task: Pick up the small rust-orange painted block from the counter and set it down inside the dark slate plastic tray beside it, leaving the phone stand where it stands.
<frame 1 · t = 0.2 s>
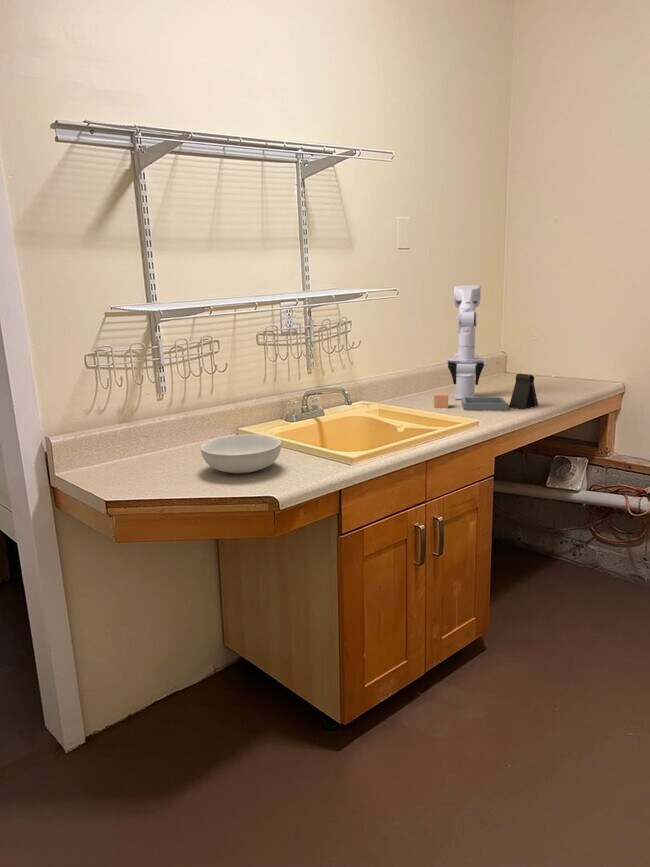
hand: (465, 384, 234), 10 cm above the counter, tool pointing down, fingers open, 7 cm apart
serving bowl: (242, 469, 173), on the counter
phone stand: (523, 407, 242), on the counter
orange block: (440, 407, 245), on the counter
slate tray: (483, 407, 243), on the counter
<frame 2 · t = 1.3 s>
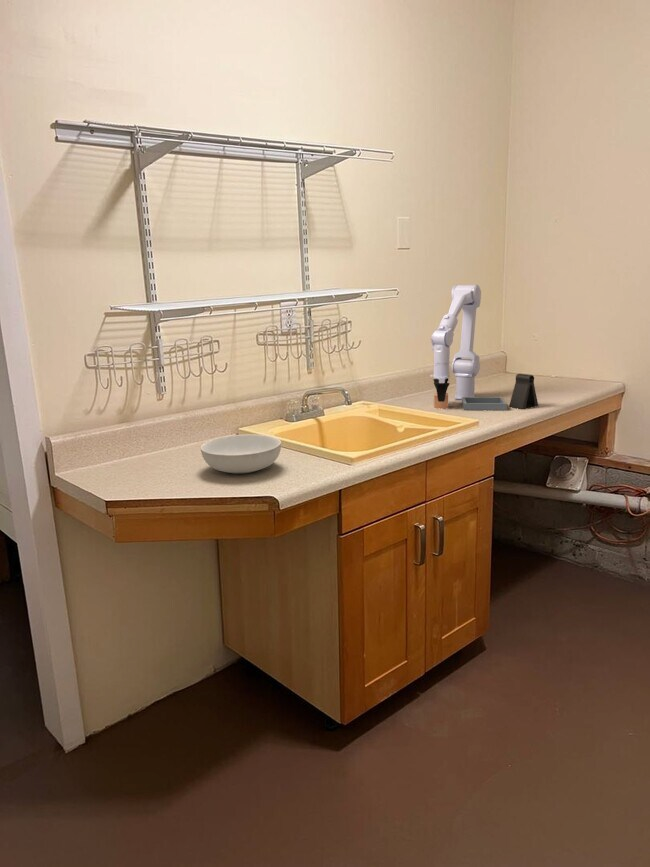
hand: (440, 399, 245), 3 cm above the counter, tool pointing down, fingers open, 7 cm apart
nothing on the counter moved.
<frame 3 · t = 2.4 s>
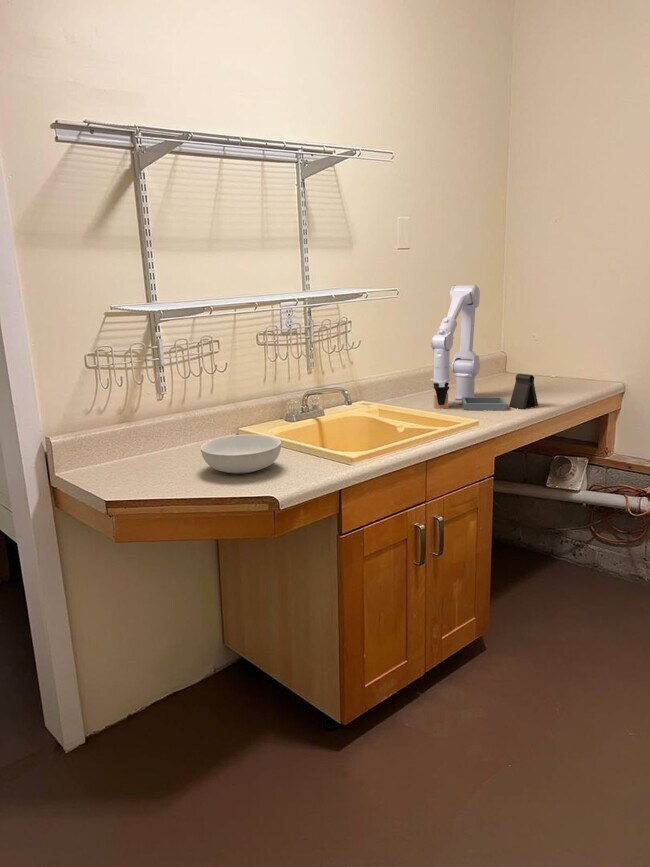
hand: (441, 403, 245), 1 cm above the counter, tool pointing down, fingers closed on orange block, 5 cm apart
orange block: (440, 407, 245), on the counter, touching gripper
everything else where it was.
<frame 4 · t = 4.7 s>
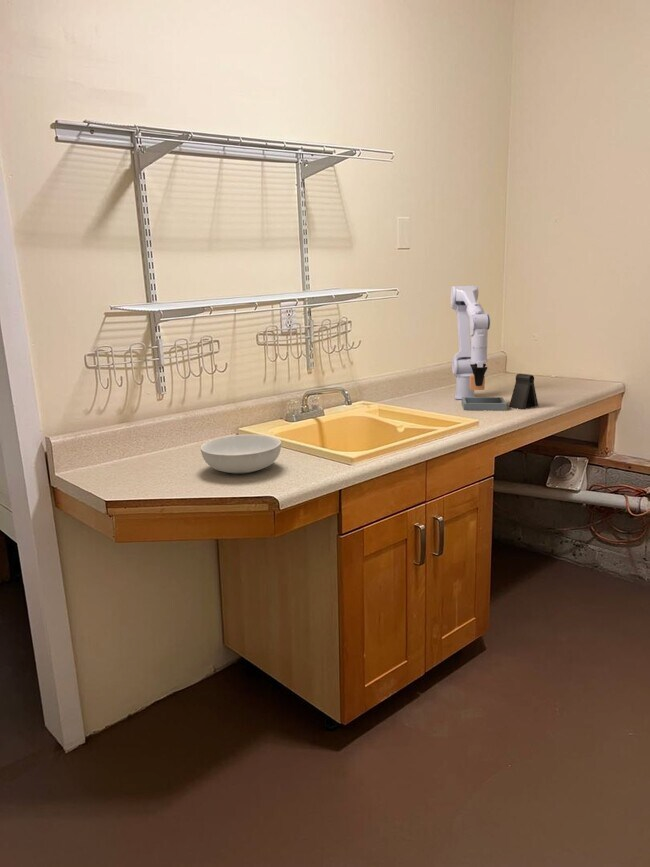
hand: (478, 384, 242), 8 cm above the counter, tool pointing down, fingers closed on orange block, 5 cm apart
orange block: (476, 388, 242), point 7 cm above the counter, touching gripper
everything else where it was.
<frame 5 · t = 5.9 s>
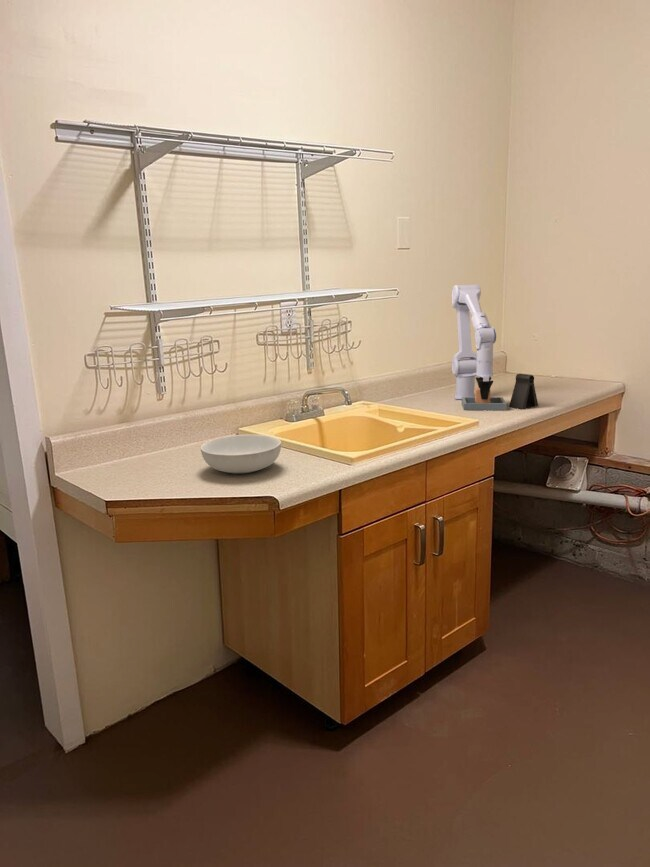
hand: (483, 397, 242), 3 cm above the counter, tool pointing down, fingers closed on orange block, 5 cm apart
orange block: (482, 402, 243), point 2 cm above the counter, touching gripper
everything else where it was.
when the fingers open (3 cm above the counter, at t = 6.8 s): orange block drops 1 cm, resting on slate tray.
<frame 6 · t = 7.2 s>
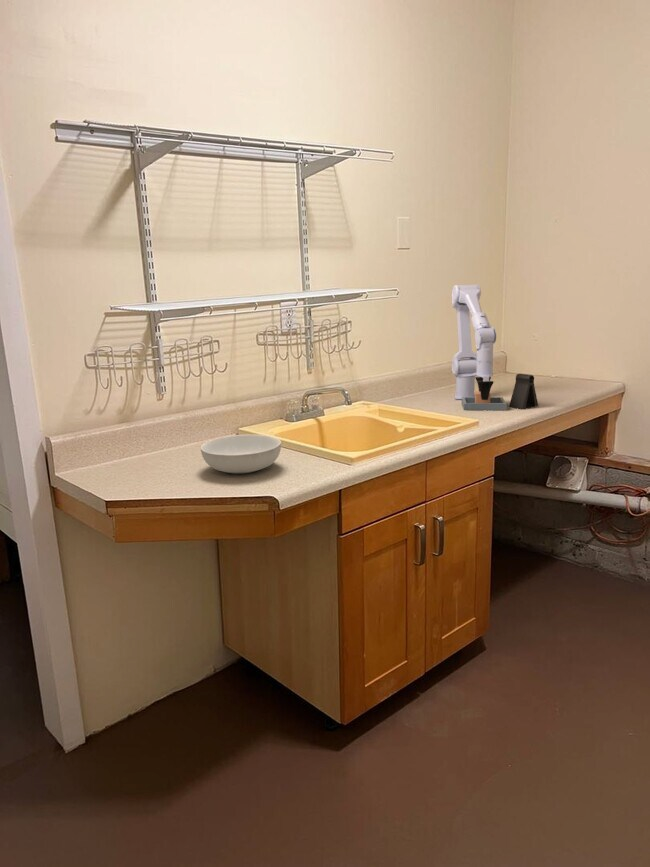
hand: (483, 397, 242), 3 cm above the counter, tool pointing down, fingers open, 7 cm apart
orange block: (482, 405, 243), resting on slate tray
everything else where it was.
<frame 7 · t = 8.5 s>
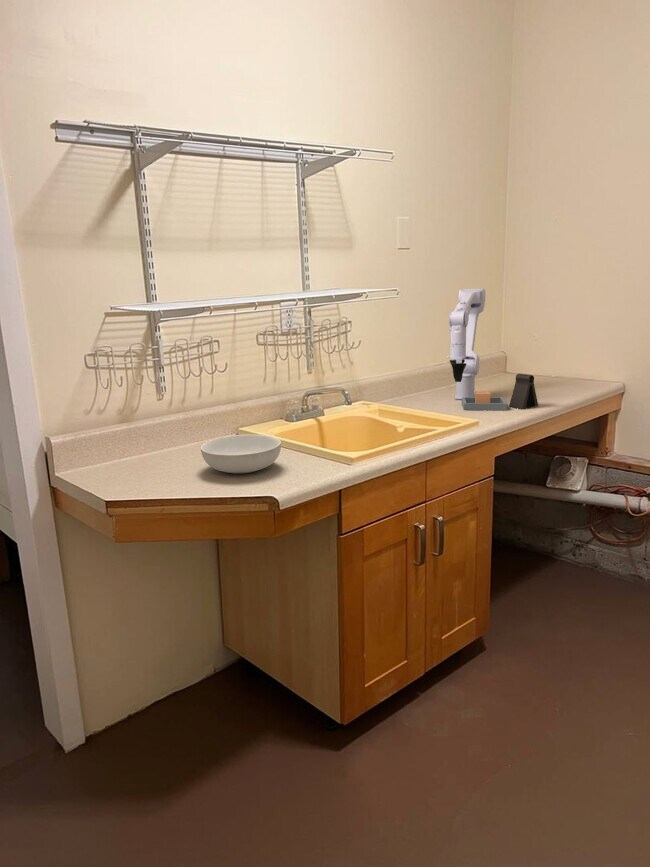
hand: (457, 380, 247), 9 cm above the counter, tool pointing down, fingers open, 7 cm apart
nothing on the counter moved.
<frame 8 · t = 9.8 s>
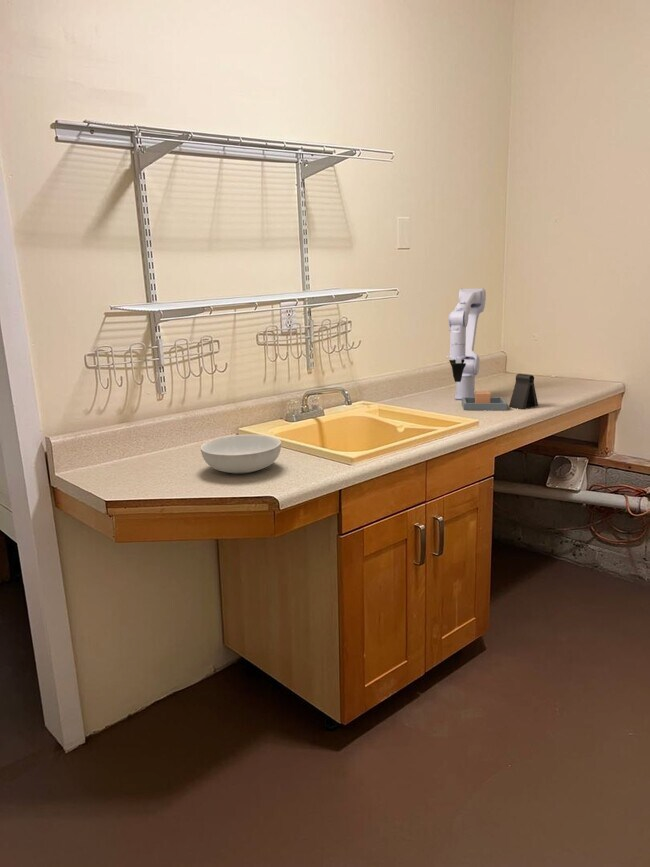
hand: (457, 380, 247), 9 cm above the counter, tool pointing down, fingers open, 7 cm apart
nothing on the counter moved.
at the end: orange block inside the target area on the slate tray (0.4 cm from its centre), point 0.4 cm above the slate tray's base; the gripper is holding nothing; phone stand moved 0.3 cm from its start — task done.
